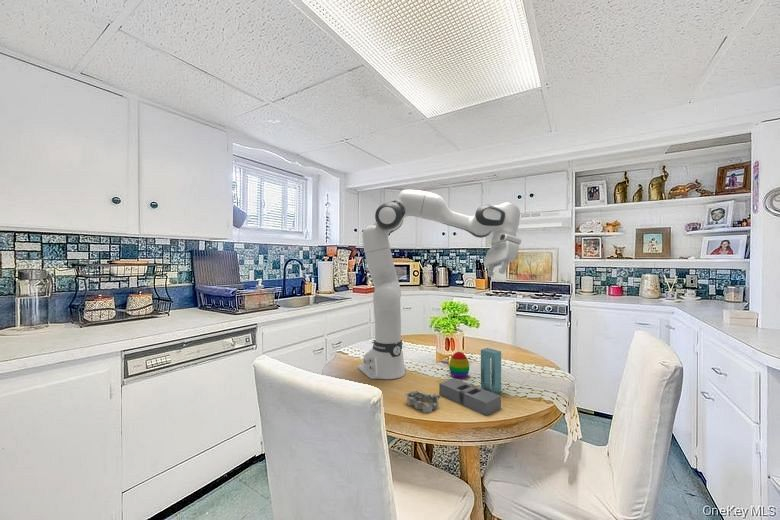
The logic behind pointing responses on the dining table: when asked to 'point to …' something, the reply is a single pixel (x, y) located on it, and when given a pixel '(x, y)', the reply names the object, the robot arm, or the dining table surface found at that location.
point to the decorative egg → (459, 365)
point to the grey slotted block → (470, 396)
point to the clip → (491, 370)
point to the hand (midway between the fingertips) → (495, 274)
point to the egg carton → (417, 399)
